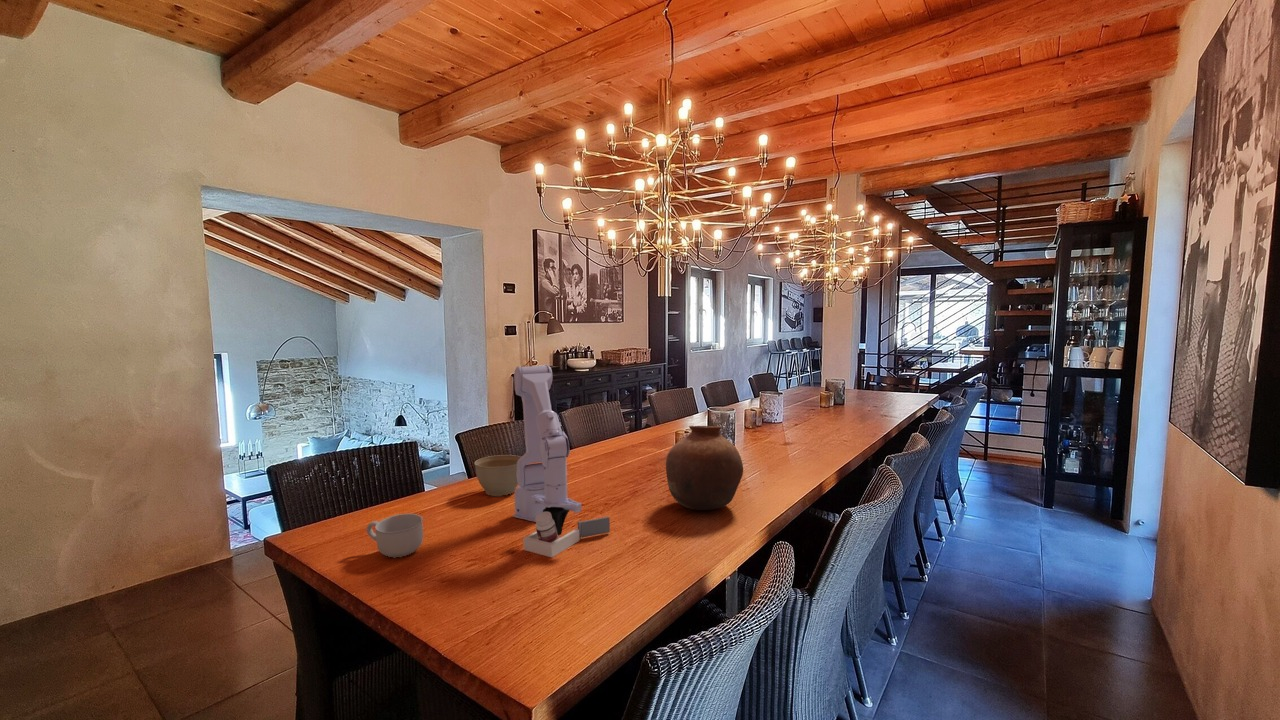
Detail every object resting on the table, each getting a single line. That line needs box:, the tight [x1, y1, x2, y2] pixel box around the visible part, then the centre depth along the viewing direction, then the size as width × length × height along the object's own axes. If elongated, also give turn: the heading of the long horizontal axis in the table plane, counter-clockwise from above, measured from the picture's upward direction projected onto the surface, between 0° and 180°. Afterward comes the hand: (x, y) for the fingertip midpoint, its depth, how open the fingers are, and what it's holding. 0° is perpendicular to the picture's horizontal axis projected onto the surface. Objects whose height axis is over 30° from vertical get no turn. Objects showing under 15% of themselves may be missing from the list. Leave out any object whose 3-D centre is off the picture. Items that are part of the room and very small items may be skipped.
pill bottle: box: [535, 512, 559, 543], centre depth 131 cm, size 5×5×8 cm
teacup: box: [366, 513, 424, 559], centre depth 131 cm, size 14×11×8 cm
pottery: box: [665, 425, 744, 511], centre depth 159 cm, size 23×23×25 cm
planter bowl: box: [474, 454, 522, 497], centre depth 175 cm, size 16×16×11 cm
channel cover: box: [577, 516, 611, 540], centre depth 138 cm, size 9×1×4 cm, turn 115°
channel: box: [522, 528, 580, 558], centre depth 133 cm, size 9×11×3 cm
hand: (557, 534), depth 135 cm, fingers closed, pressing on pill bottle
